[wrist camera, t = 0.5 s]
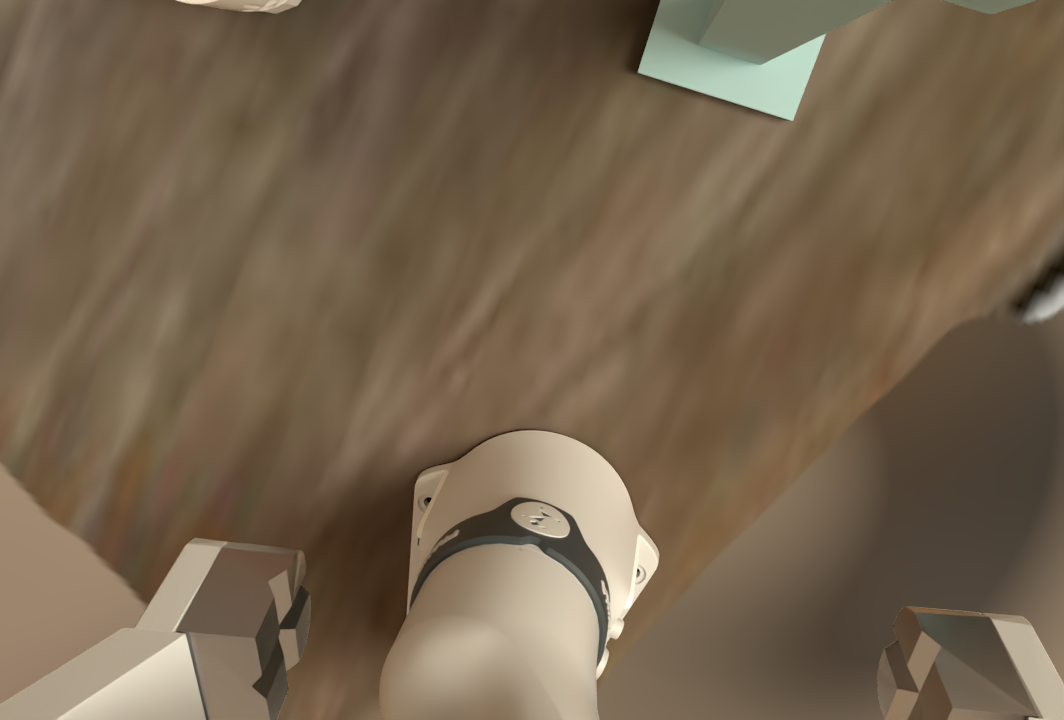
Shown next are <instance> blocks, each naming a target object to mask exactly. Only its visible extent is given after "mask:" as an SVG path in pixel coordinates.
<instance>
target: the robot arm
mask: <svg viewBox="0 0 1064 720" xmlns="http://www.w3.org/2000/svg"><path fill="white" fill-rule="evenodd" d="M427 497H430V498H432V499H431V501H430V503H429V502H427V500H426V498H427ZM658 562H659V551H658V549H657V547H656V545H655V544H654V542H653V541H652V540H651V538H650V537H649V536H648V535H647V534H646V532H645V531H644V530H643V529H642V528H641V527H640V526H639V524H638V522H637V519H636V517H635V514H634V510H633V507H632V503H631V500H630V497H629V494H628V492H627V490H626V487H625V485H624V484H623V482H622V480H621V478H620V477H619V475H618V474H617V473H616V471H615V470H614V469H613V468H612V466H611V465H610V464H609V463H608V462H607V461H606V460H605V459H604V458H603V457H602V456H600V455H599V454H598V453H597V452H595V451H594V450H593V449H591V448H589V447H588V446H586V445H585V444H583V443H581V442H579V441H577V440H575V439H572V438H570V437H567V436H564V435H561V434H557V433H553V432H547V431H537V430H526V431H516V432H511V433H506V434H502V435H499V436H497V437H494V438H492V439H489V440H487V441H485V442H484V443H482V444H480V445H479V446H477V447H476V448H474V449H473V450H472V451H470V452H469V453H468V454H466V455H465V456H464V457H462V458H461V459H459V460H457V461H455V462H453V463H448V464H443V465H439V466H435V467H431V468H429V469H426V470H424V471H423V472H422V473H421V474H420V475H419V476H418V478H417V481H416V484H415V490H414V505H413V521H412V537H411V552H410V568H409V584H408V599H407V615H406V619H405V621H404V623H403V625H402V627H401V629H400V631H399V633H398V635H397V637H396V640H395V642H394V644H393V646H392V648H391V650H390V652H389V654H388V656H387V658H386V660H385V663H384V666H383V670H382V675H381V679H380V689H379V697H380V709H381V715H382V719H383V720H599V716H598V713H597V701H596V679H598V678H599V677H600V675H601V674H602V672H603V670H604V668H605V665H606V663H607V660H608V656H609V651H608V650H607V648H605V647H606V644H607V641H608V640H609V638H610V637H611V638H613V639H617V638H618V637H619V635H620V633H621V631H622V629H623V626H624V621H623V620H622V619H623V618H624V616H625V615H626V613H627V612H628V610H629V609H630V607H631V606H632V604H633V603H634V601H635V600H636V598H637V597H638V595H639V594H640V592H641V591H642V589H643V588H644V587H645V585H646V584H647V582H648V581H649V579H650V578H651V576H652V575H653V573H654V572H655V570H656V568H657V566H658ZM637 568H638V569H639V570H640V571H639V572H637ZM306 570H307V569H306V563H305V557H304V552H302V551H301V550H299V549H290V548H282V547H274V546H265V545H257V544H249V543H240V542H232V541H230V542H226V541H218V540H210V539H201V538H194V539H193V540H191V541H190V542H189V543H187V544H186V545H185V546H184V548H183V549H182V551H181V553H180V554H179V556H178V558H177V559H176V561H175V562H174V564H173V566H172V567H171V569H170V570H169V572H168V574H167V575H166V577H165V579H164V580H163V582H162V583H161V585H160V587H159V588H158V590H157V592H156V593H155V595H154V596H153V598H152V600H151V601H150V603H149V604H148V606H147V608H146V609H145V611H144V613H143V614H142V616H141V617H140V619H139V621H138V622H137V624H136V626H135V627H134V628H125V627H124V628H121V629H120V630H118V631H116V632H115V633H113V634H112V635H110V636H109V637H107V638H105V639H104V640H102V641H100V642H99V643H97V644H96V645H94V646H92V647H91V648H89V649H88V650H86V651H84V652H83V653H81V654H80V655H78V656H77V657H75V658H73V659H72V660H70V661H69V662H67V663H65V664H64V665H62V666H60V667H59V668H57V669H56V670H54V671H52V672H51V673H49V674H47V675H46V676H44V677H43V678H41V679H39V680H38V681H36V682H35V683H33V684H31V685H30V686H28V687H27V688H25V689H23V690H22V691H20V692H18V693H17V694H15V695H14V696H12V697H11V698H9V699H7V700H6V701H4V702H2V703H1V704H0V720H277V718H278V715H279V713H280V710H281V708H282V705H283V703H284V700H285V697H286V695H287V692H288V690H289V687H288V680H287V673H286V671H287V670H289V669H290V668H291V667H293V666H294V665H295V664H296V663H298V662H299V661H300V658H301V656H302V653H303V650H304V647H305V645H306V641H307V636H308V631H309V626H310V619H311V601H310V593H309V592H308V591H307V590H306V589H305V588H304V587H303V586H302V585H301V582H302V580H303V577H304V575H305V573H306ZM893 627H894V630H895V632H896V635H897V638H898V640H897V641H895V642H894V643H892V644H891V645H889V646H887V647H886V648H885V649H884V651H883V654H882V657H881V660H880V663H879V666H878V681H877V682H878V683H877V688H878V696H879V702H880V706H881V709H882V713H883V716H884V720H1064V684H1063V682H1062V680H1061V678H1060V677H1059V675H1058V673H1057V671H1056V669H1055V667H1054V666H1053V664H1052V662H1051V660H1050V658H1049V656H1048V655H1047V653H1046V651H1045V649H1044V647H1043V645H1042V644H1041V642H1040V640H1039V638H1038V637H1037V635H1036V633H1035V631H1034V629H1033V627H1032V626H1031V624H1030V622H1028V621H1027V620H1026V619H1025V618H1024V617H1022V616H1014V615H1002V614H990V613H981V614H980V613H977V612H968V611H967V612H966V611H956V610H944V609H932V608H920V607H907V606H905V607H904V608H903V609H902V610H901V611H900V612H899V613H898V615H897V618H896V620H895V623H894V625H893Z"/></svg>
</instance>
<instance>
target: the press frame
mask: <svg viewBox="0 0 1064 720" xmlns="http://www.w3.org/2000/svg"><path fill="white" fill-rule="evenodd" d="M891 1H893V0H661V1H660V4H659V7H658V10H657V13H656V16H655V19H654V23H653V26H652V29H651V32H650V35H649V38H648V41H647V44H646V48H645V51H644V54H643V57H642V60H641V63H640V66H639V69H638V73H639V74H642V75H645V76H648V77H651V78H655V79H658V80H661V81H664V82H667V83H670V84H674V85H677V86H680V87H683V88H686V89H690V90H693V91H696V92H699V93H702V94H706V95H709V96H712V97H715V98H718V99H722V100H725V101H728V102H731V103H734V104H738V105H741V106H744V107H747V108H750V109H754V110H757V111H760V112H763V113H766V114H770V115H773V116H776V117H779V118H782V119H786V120H789V121H793V119H794V116H795V113H796V111H797V108H798V105H799V103H800V100H801V98H802V95H803V92H804V90H805V87H806V84H807V82H808V79H809V77H810V74H811V71H812V69H813V66H814V64H815V61H816V58H817V56H818V53H819V50H820V48H821V45H822V43H823V40H824V37H825V35H826V33H828V32H830V31H832V30H834V29H836V28H838V27H840V26H842V25H844V24H846V23H848V22H850V21H852V20H854V19H856V18H858V17H861V16H863V15H865V14H867V13H869V12H871V11H873V10H875V9H877V8H879V7H881V6H883V5H885V4H887V3H889V2H891ZM944 1H947V2H950V3H954V4H957V5H960V6H964V7H967V8H970V9H974V10H977V11H980V12H983V13H987V14H990V15H991V14H994V13H997V12H1001V11H1004V10H1007V9H1010V8H1014V7H1017V6H1020V5H1024V4H1027V3H1030V2H1033V1H1037V0H944Z"/></svg>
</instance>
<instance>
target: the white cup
mask: <svg viewBox="0 0 1064 720" xmlns="http://www.w3.org/2000/svg"><path fill="white" fill-rule="evenodd" d="M176 1H180V2H183V3H188V4H195V5H202V6H209V7H215V8H220V9H225V10H236V11H246V12H256V11H262V12H268V13H275V14H277V13H280V12H282V11H285V10H288V9H291V8H293V7H296V6H298V4H299V3H300V2H301V1H302V0H176Z"/></svg>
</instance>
